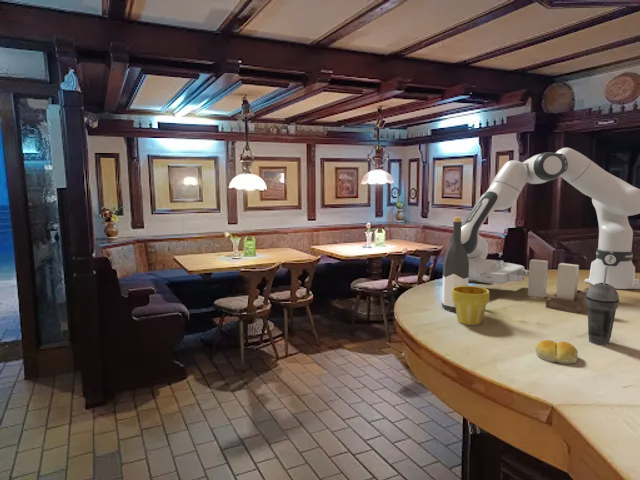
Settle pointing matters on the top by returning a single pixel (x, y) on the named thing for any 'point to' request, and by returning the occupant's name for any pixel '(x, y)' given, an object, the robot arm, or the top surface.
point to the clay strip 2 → (567, 281)
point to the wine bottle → (454, 267)
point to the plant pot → (470, 303)
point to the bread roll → (557, 352)
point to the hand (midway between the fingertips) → (528, 276)
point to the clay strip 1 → (537, 278)
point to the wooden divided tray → (569, 302)
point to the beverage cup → (601, 311)
